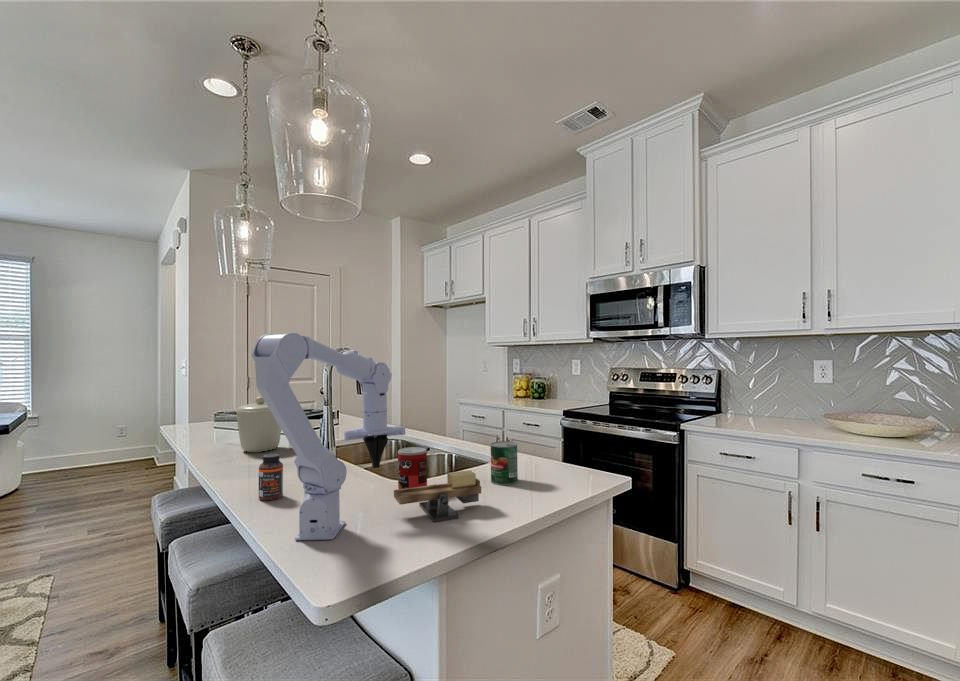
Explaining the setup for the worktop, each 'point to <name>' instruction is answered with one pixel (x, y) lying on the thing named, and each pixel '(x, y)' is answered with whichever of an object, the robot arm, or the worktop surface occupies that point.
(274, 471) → the supplement bottle
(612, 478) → the worktop surface
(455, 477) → the rider
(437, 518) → the stand
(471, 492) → the beam
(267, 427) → the canister
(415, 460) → the canned food
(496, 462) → the canned tomato
